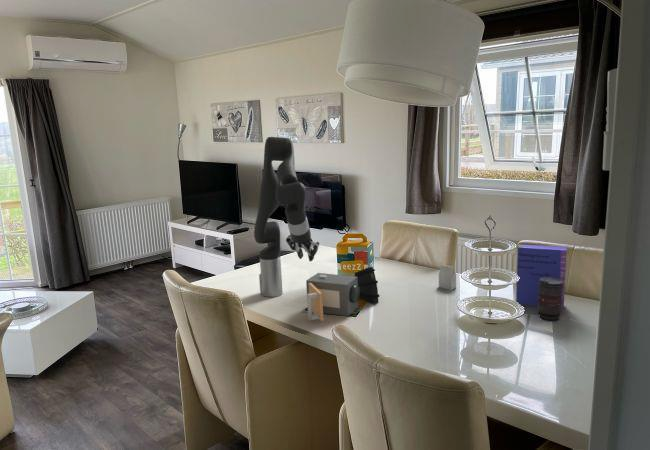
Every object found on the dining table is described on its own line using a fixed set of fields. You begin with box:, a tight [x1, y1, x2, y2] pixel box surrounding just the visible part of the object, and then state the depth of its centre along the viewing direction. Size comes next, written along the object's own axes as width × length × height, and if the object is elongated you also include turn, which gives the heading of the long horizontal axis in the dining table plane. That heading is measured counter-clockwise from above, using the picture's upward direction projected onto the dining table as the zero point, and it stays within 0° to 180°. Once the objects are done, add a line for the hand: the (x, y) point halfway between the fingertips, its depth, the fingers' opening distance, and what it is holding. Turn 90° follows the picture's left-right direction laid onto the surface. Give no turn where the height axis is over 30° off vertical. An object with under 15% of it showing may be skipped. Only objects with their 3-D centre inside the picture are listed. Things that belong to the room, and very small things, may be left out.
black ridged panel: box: [353, 266, 380, 305], centre depth 218 cm, size 4×13×15 cm, turn 32°
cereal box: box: [515, 244, 568, 310], centre depth 202 cm, size 17×5×24 cm, turn 65°
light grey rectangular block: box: [438, 264, 457, 291], centre depth 229 cm, size 4×7×10 cm, turn 41°
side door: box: [306, 282, 324, 322], centre depth 199 cm, size 15×5×11 cm, turn 19°
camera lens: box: [537, 277, 563, 323], centre depth 189 cm, size 8×8×15 cm
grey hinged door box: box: [305, 272, 360, 317], centre depth 208 cm, size 20×11×14 cm, turn 65°
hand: (306, 258), depth 199 cm, fingers open, 4 cm apart
